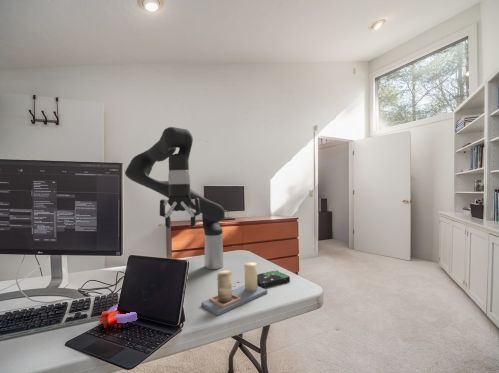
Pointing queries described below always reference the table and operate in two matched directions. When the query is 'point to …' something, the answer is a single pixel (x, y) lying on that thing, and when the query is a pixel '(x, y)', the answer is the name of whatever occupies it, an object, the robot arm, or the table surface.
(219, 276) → the maple column
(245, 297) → the base plate
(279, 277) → the disk drive
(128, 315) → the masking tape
